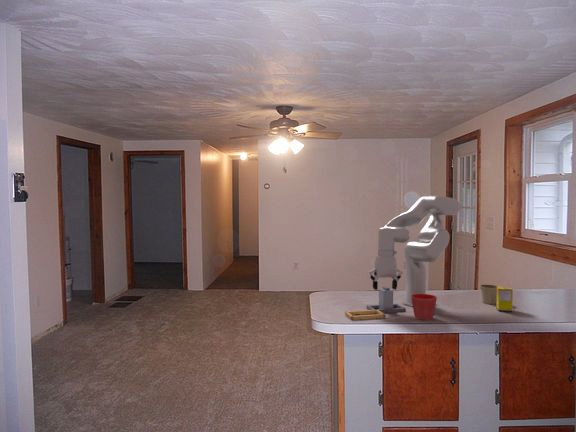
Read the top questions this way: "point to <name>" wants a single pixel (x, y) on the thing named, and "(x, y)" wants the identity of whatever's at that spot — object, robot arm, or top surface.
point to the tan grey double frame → (372, 310)
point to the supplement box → (504, 299)
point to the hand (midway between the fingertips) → (384, 289)
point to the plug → (385, 298)
